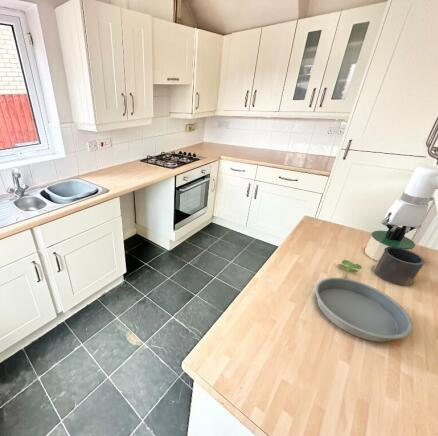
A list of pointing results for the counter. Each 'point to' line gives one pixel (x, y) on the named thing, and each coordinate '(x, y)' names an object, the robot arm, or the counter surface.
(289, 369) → the counter surface
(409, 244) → the lid
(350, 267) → the seedling
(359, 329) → the cake pan
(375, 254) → the tin
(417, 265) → the cup
